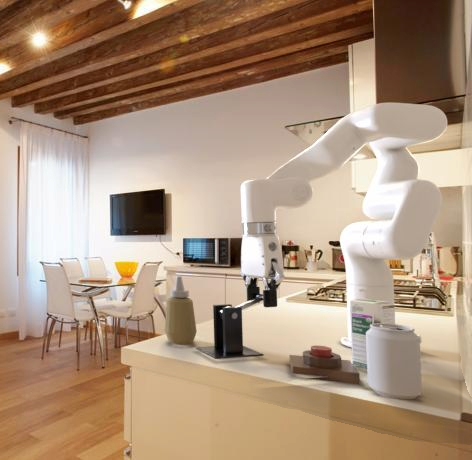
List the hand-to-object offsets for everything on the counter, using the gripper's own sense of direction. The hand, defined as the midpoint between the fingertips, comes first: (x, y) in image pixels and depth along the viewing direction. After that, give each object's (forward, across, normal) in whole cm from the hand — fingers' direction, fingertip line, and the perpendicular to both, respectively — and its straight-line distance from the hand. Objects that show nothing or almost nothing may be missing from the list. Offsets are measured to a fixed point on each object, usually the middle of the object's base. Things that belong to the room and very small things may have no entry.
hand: (261, 304), depth 100 cm
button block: (+12, -16, -2) cm, 20 cm away
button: (+8, -16, -2) cm, 18 cm away
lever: (+1, 0, +4) cm, 5 cm away
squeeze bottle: (+12, +12, +16) cm, 23 cm away
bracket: (+12, 0, +9) cm, 15 cm away
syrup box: (+12, -16, -14) cm, 24 cm away
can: (+12, -28, -6) cm, 31 cm away
